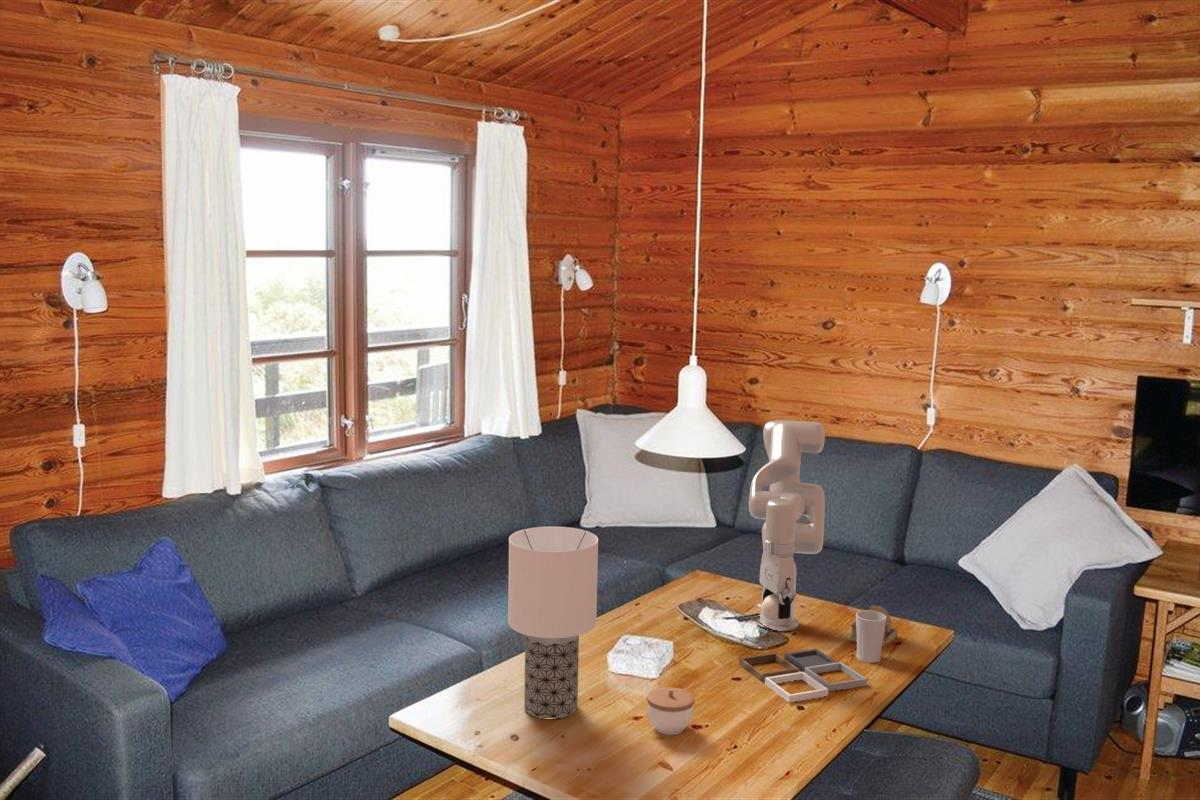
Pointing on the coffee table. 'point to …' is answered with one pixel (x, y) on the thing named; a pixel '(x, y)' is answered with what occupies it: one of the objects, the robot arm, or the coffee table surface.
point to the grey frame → (857, 682)
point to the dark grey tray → (808, 658)
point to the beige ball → (771, 607)
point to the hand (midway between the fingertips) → (775, 612)
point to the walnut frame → (765, 658)
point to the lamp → (552, 611)
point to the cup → (869, 635)
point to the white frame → (817, 693)
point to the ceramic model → (889, 631)
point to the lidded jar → (670, 709)
